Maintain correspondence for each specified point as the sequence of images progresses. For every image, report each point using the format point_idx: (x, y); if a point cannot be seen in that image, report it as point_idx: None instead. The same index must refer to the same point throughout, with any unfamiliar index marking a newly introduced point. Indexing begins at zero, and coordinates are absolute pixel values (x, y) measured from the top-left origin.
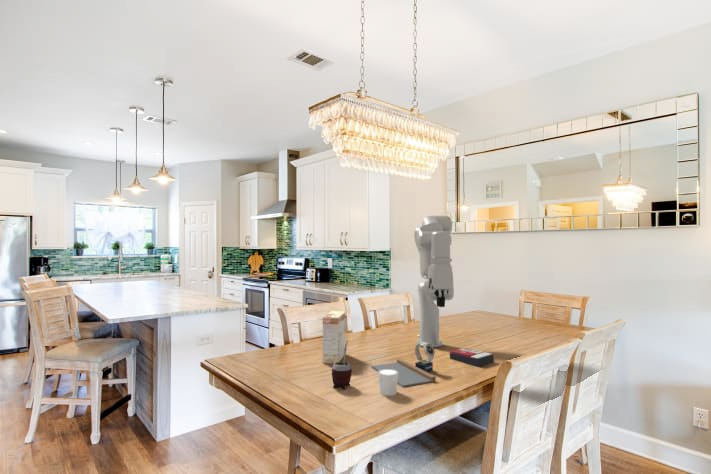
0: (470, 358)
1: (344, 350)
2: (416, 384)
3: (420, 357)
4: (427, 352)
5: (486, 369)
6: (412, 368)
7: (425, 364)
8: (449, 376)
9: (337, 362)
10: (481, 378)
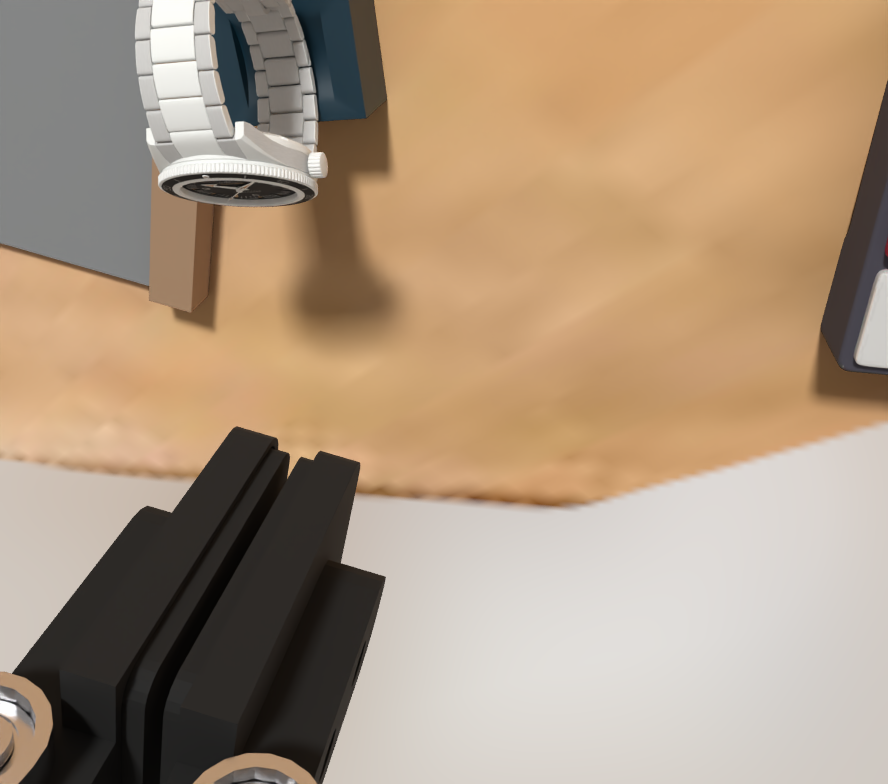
0: (856, 273)
1: None
2: (38, 249)
3: (256, 10)
4: (186, 198)
5: (803, 408)
6: None
7: (253, 116)
8: (386, 299)
9: None
10: (550, 474)
